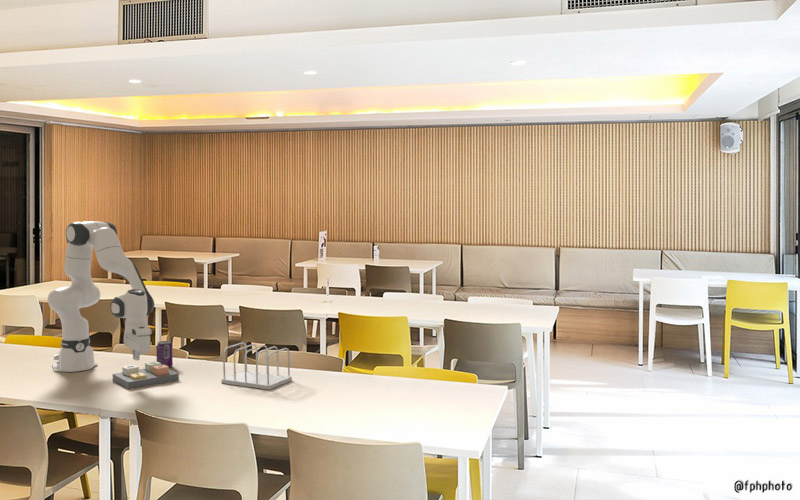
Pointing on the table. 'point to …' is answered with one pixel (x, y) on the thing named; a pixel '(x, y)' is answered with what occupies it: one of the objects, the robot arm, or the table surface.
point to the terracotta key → (160, 370)
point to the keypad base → (144, 379)
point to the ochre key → (137, 376)
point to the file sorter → (256, 378)
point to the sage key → (149, 365)
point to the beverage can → (164, 353)
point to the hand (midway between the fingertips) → (136, 359)
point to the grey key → (130, 370)
